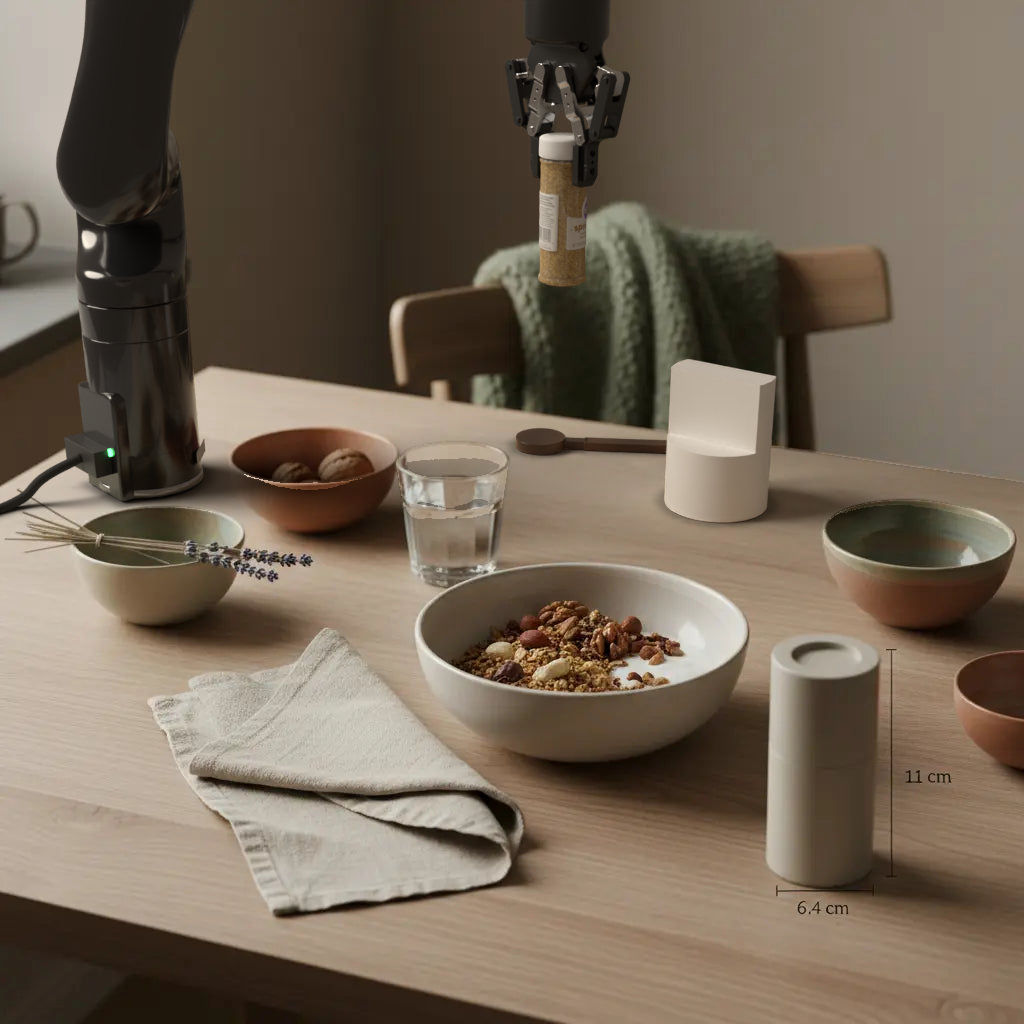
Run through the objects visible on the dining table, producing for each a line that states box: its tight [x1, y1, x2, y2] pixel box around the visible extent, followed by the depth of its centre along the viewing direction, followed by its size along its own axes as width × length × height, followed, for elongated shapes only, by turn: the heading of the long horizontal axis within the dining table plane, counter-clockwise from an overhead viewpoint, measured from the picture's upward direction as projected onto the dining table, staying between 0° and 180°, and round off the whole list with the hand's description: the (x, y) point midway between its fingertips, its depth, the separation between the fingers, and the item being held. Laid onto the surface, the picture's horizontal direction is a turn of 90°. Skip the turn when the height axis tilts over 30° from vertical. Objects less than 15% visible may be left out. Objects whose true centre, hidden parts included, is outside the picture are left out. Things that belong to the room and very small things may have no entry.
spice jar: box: [537, 131, 588, 288], centre depth 138 cm, size 5×5×13 cm
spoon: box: [515, 427, 667, 456], centre depth 145 cm, size 18×5×1 cm, turn 85°
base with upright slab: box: [663, 358, 777, 524], centre depth 131 cm, size 9×9×12 cm
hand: (563, 180), depth 137 cm, fingers closed on spice jar, 4 cm apart
